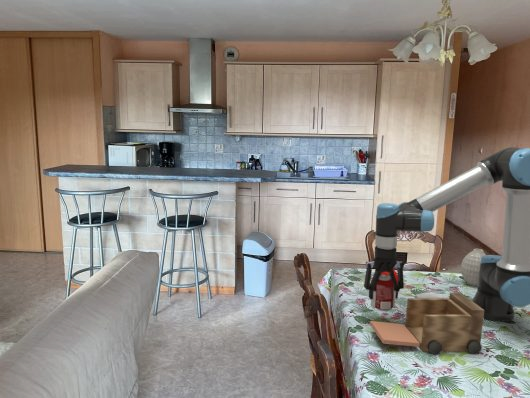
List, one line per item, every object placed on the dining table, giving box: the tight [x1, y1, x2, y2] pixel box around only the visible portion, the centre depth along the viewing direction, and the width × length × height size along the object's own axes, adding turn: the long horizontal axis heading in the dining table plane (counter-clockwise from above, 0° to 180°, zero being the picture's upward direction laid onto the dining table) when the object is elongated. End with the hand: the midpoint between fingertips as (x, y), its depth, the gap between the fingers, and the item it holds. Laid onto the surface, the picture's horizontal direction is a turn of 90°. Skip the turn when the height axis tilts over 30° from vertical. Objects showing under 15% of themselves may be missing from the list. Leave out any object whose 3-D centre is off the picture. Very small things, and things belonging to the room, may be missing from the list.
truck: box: [404, 292, 485, 355], centre depth 139 cm, size 19×17×14 cm
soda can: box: [374, 275, 394, 312], centre depth 152 cm, size 7×7×12 cm
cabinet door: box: [369, 320, 420, 348], centre depth 138 cm, size 2×13×12 cm
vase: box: [460, 248, 487, 287], centre depth 193 cm, size 13×13×17 cm
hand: (382, 306), depth 153 cm, fingers closed on soda can, 7 cm apart
